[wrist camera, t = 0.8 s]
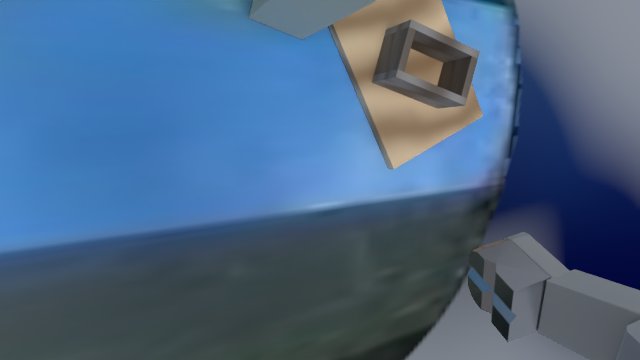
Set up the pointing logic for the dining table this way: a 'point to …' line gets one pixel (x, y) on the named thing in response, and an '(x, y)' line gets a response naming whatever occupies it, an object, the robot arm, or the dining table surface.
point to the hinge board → (390, 107)
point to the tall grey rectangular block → (303, 14)
